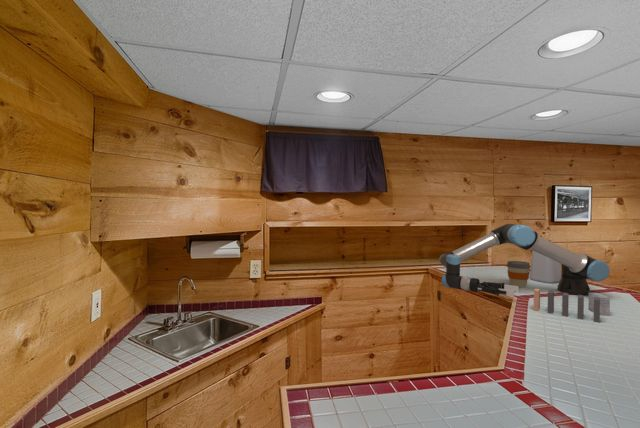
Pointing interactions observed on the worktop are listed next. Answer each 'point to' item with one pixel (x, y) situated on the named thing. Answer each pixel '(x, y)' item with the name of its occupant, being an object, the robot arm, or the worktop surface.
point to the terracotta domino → (536, 299)
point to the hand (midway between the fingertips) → (516, 291)
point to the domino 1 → (550, 302)
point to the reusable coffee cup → (518, 273)
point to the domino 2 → (565, 304)
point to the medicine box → (603, 303)
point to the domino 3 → (580, 307)
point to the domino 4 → (596, 309)
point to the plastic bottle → (544, 269)
